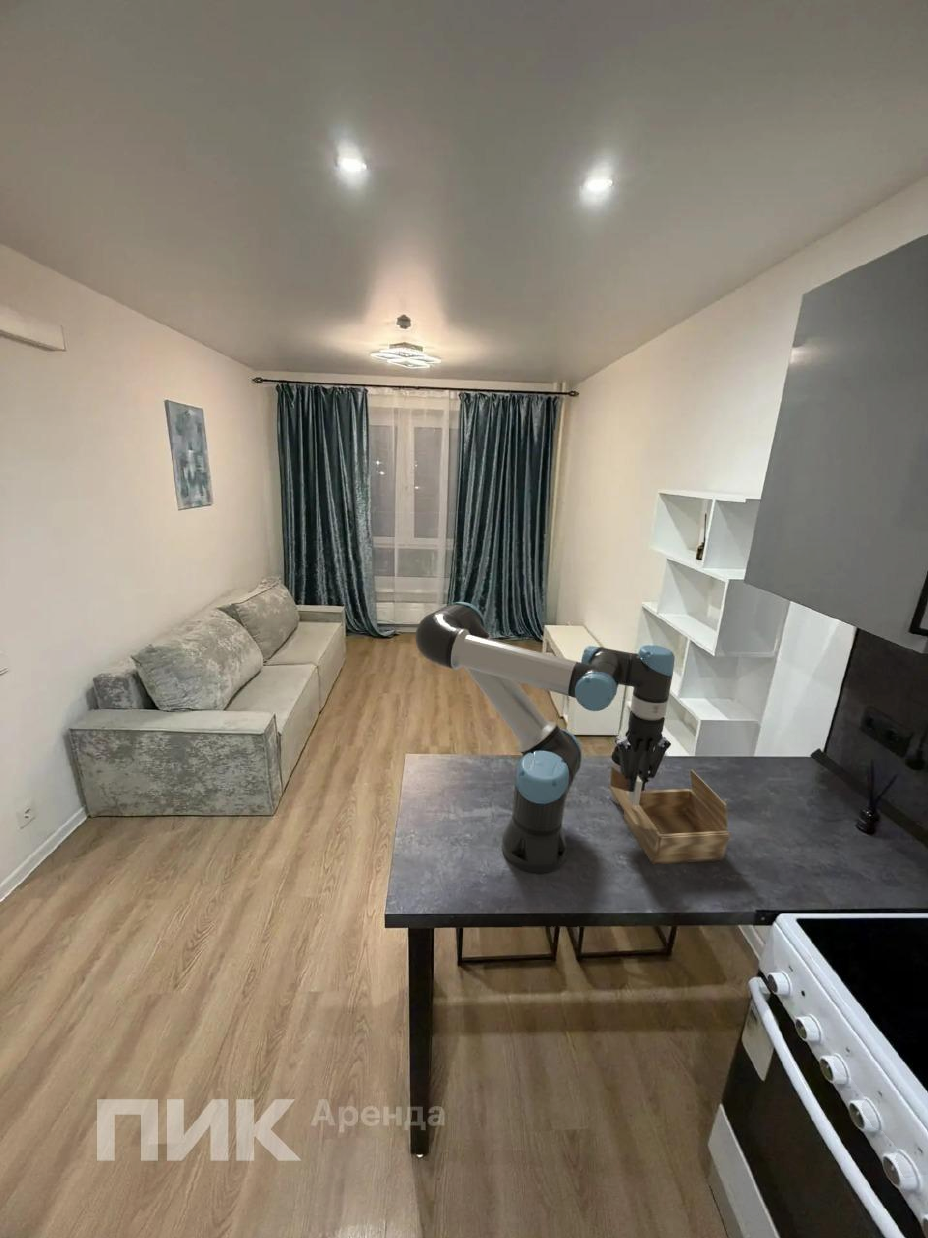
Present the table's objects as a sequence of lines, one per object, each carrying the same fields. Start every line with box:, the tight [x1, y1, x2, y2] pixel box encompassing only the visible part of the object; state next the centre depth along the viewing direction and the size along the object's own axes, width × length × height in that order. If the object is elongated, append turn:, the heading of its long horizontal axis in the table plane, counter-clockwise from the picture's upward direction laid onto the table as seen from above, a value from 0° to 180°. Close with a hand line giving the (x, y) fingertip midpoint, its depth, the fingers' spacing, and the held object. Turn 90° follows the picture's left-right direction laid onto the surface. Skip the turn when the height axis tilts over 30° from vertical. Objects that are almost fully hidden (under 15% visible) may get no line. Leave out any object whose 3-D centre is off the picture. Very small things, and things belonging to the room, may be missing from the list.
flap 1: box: [608, 785, 658, 832], centre depth 121 cm, size 1×14×6 cm
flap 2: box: [690, 768, 728, 828], centre depth 123 cm, size 1×14×6 cm, turn 8°
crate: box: [622, 788, 731, 865], centre depth 124 cm, size 18×17×8 cm
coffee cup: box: [609, 743, 639, 805], centre depth 138 cm, size 8×8×15 cm
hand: (633, 801), depth 120 cm, fingers closed
